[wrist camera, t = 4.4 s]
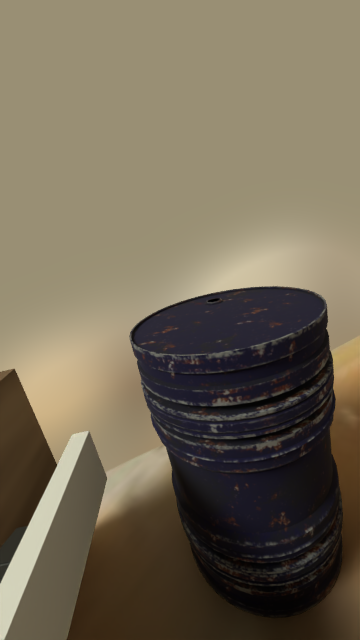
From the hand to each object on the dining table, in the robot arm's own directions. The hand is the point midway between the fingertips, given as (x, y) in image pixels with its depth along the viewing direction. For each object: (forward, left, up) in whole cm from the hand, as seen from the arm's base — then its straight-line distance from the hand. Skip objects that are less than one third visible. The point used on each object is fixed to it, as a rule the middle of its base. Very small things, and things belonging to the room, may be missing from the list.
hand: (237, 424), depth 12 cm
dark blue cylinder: (-1, -3, -11) cm, 11 cm away
